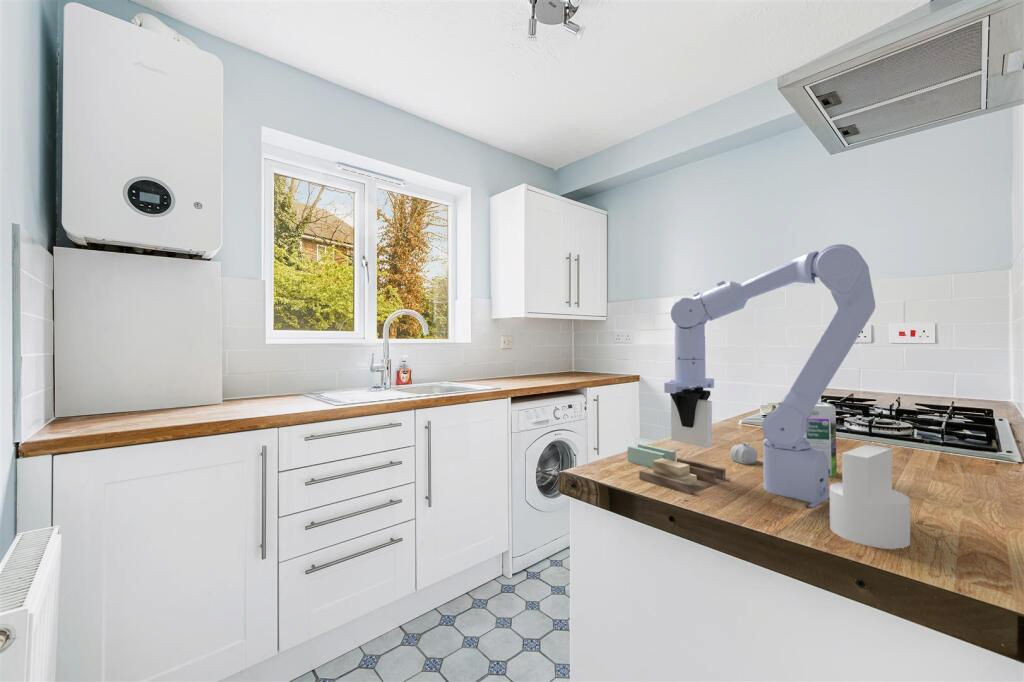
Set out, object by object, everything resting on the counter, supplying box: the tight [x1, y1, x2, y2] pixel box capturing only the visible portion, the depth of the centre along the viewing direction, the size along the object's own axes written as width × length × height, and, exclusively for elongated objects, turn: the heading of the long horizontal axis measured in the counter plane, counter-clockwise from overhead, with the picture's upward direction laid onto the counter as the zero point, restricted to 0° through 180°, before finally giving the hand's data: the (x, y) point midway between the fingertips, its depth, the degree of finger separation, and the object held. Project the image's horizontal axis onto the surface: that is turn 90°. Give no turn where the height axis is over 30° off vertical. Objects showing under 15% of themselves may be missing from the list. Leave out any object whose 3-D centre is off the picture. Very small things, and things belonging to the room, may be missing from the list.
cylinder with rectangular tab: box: [829, 444, 911, 550], centre depth 64 cm, size 9×9×12 cm
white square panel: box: [670, 396, 713, 449], centre depth 90 cm, size 8×2×9 cm, turn 36°
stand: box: [627, 443, 677, 469], centre depth 98 cm, size 9×5×4 cm, turn 36°
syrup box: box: [804, 401, 838, 478], centre depth 92 cm, size 6×6×14 cm
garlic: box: [729, 441, 758, 465], centre depth 99 cm, size 6×5×5 cm
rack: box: [638, 457, 732, 495], centre depth 87 cm, size 11×14×3 cm
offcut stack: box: [652, 458, 697, 486], centre depth 85 cm, size 7×4×4 cm, turn 36°
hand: (690, 426), depth 90 cm, fingers closed on white square panel
